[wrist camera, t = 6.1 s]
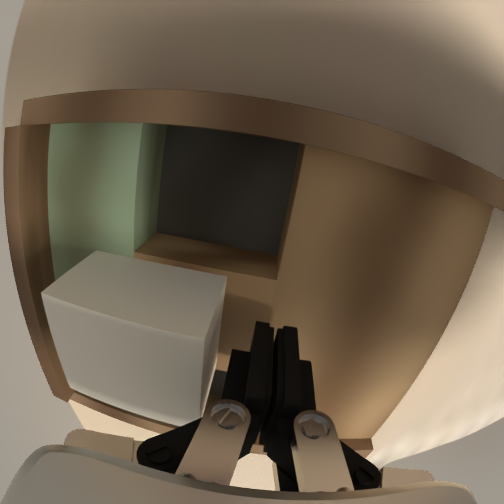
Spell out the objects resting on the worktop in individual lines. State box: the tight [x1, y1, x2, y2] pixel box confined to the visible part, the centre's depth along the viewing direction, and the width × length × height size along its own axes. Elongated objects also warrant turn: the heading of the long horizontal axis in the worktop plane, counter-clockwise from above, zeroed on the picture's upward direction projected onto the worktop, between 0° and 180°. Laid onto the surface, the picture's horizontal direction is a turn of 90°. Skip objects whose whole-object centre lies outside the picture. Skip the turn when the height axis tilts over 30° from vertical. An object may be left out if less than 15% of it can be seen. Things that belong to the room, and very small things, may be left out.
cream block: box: [41, 250, 227, 426], centre depth 11 cm, size 6×5×4 cm
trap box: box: [4, 89, 504, 458], centre depth 13 cm, size 21×18×5 cm
